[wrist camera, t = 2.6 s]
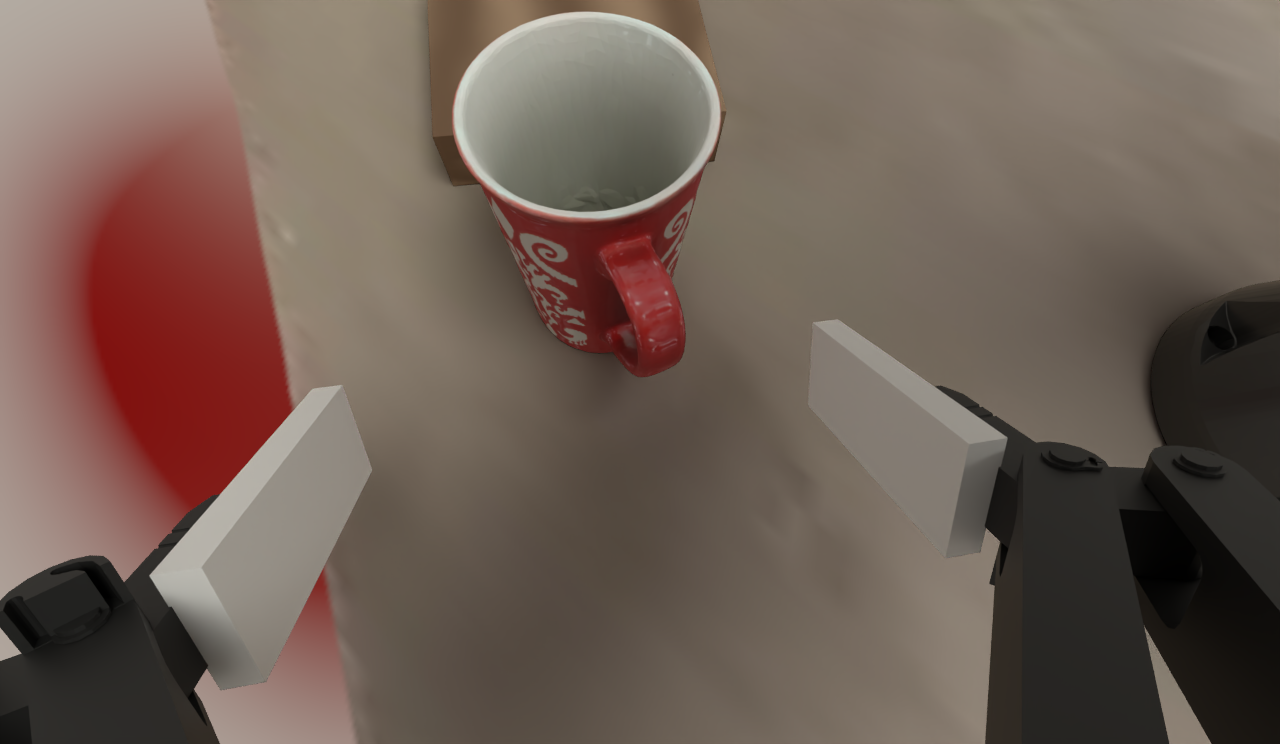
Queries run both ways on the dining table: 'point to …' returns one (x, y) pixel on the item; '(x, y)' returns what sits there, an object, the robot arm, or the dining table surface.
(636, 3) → the walnut stand
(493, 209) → the mug
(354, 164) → the dining table surface
